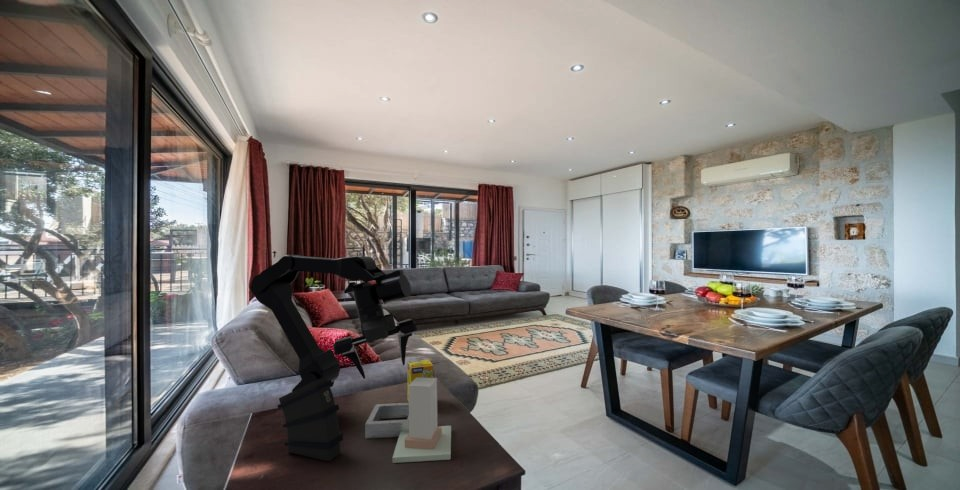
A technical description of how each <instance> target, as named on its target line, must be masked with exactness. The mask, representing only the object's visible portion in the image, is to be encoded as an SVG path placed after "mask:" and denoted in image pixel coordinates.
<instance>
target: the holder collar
mask: <svg viewBox="0 0 960 490" xmlns="http://www.w3.org/2000/svg"><path fill="white" fill-rule="evenodd" d="M401 418H402V419H401ZM403 418H404V419H403ZM405 418H406V419H405ZM381 419H382V420H381ZM383 419H389V420H383ZM407 431H409V403H408V402H398V403H397V402H396V403H393V402H392V403H377V404H375V405H374V407H373V408H372V411H371V412H370V414H369V417H368V419H367V420H366V422H365V425H364V434H365V435H364V437H365V439H377V438H378V439H380V438H397V437H398V438H399V435H400V432H407Z"/></svg>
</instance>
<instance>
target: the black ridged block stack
mask: <svg viewBox="0 0 960 490" xmlns="http://www.w3.org/2000/svg"><path fill="white" fill-rule="evenodd" d="M331 384H332V382H331V380H330V381H328V380H327V377H326V376H325V377H323V378H320V379H318V380H316V381H314V382H312V383H310V384H308V385H305V386H303V387H301V388H299V389H297V390H295V391H293V392H292V391H291V392H289V393H288V394H285V395H282V396H281V397H278V401H279V404H277V409H278V410H280V409H282V413H283V415H284V421H285V423H284V424H282V427H283V429H284V428H286V434H287V440H286V441H285V442H284V446H286V447H287V452H288V453H291V454H294V455H298V456H304V457H308V458H313V459H317V460H320V461H325V462H331V461H332V460H333V459H335V458H336V457H338V456H339V455H340V454H341V442H342V441H344V440H343V439H344V434H342V433H340V423H339V419H338V413H337V412H338V411H339V410H340V406H339V404H335V399H334V394H333V391H332V389H331V388H332V387H330V386H329V385H331Z"/></svg>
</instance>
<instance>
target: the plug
mask: <svg viewBox="0 0 960 490" xmlns="http://www.w3.org/2000/svg"><path fill="white" fill-rule="evenodd" d="M441 434H442V427H440V425H439V426H438V378H437V377H433V378H419V377H416V378H415V379H414V380H413V381H412V382H411V384H410V385H409V434H408V436H407V437H406V438H405V448H420V449H434V448H435V446H436V444H437V442H438V440H439V438H440V436H441Z"/></svg>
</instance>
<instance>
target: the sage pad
mask: <svg viewBox="0 0 960 490" xmlns="http://www.w3.org/2000/svg"><path fill="white" fill-rule="evenodd" d="M439 426H440V425H439ZM440 427H442V434H441V436H440V438H439V440H438V442H437V444H436V446H435V448H434V449H420V448H405V438H406V437H407V436H408V434H409V431H407V432H400V435H399V437H398V438H397V442H396V445H395V447H394V451H393V453H392V464H396V463H400V464H401V463H413V462H415V463H417V462H429V461H430V462H431V461H447V460H448V461H449V460H451V459H452V458H451V455H452V425H441V426H440Z"/></svg>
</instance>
